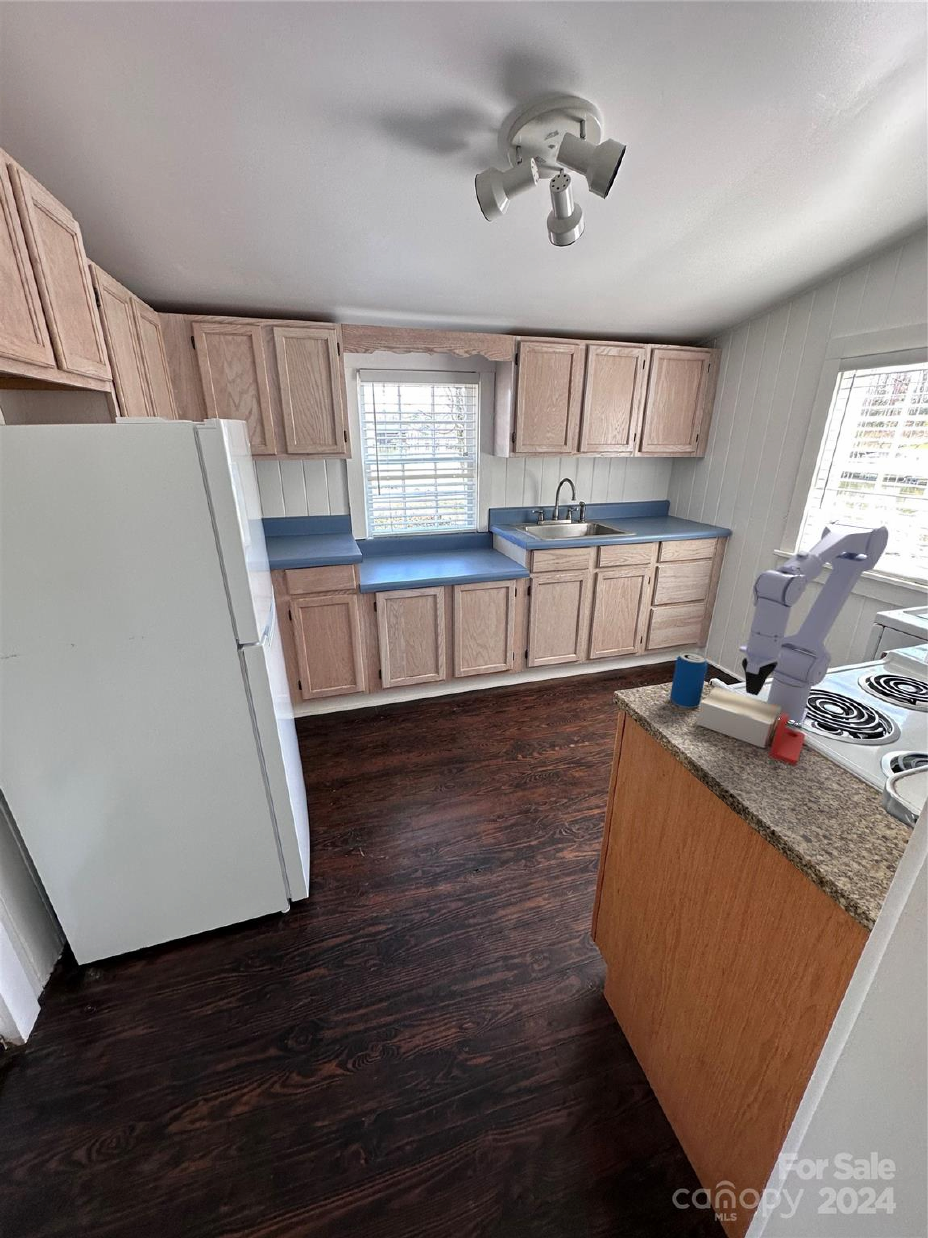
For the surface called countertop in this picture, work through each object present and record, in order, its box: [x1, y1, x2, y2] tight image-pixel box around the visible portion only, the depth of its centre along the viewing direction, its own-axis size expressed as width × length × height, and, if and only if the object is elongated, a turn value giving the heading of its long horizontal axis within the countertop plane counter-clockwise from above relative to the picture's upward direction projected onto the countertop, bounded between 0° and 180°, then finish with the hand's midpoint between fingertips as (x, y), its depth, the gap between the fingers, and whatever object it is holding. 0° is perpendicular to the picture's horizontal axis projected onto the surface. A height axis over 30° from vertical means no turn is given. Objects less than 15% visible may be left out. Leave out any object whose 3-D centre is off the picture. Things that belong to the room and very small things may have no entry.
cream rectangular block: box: [703, 686, 782, 748], centre depth 105 cm, size 9×13×6 cm
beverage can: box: [669, 651, 708, 709], centre depth 113 cm, size 6×6×12 cm
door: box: [696, 699, 771, 749], centre depth 102 cm, size 1×13×6 cm, turn 48°
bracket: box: [768, 713, 806, 766], centre depth 98 cm, size 12×4×8 cm, turn 140°
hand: (752, 693), depth 101 cm, fingers closed
